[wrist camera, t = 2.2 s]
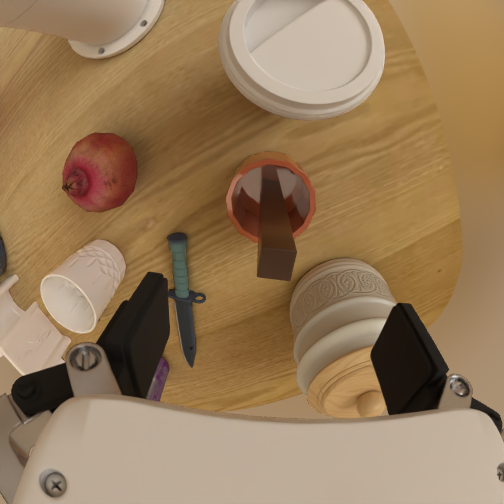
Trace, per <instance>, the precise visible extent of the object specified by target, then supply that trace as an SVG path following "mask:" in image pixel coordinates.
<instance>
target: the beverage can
mask: <svg viewBox="0 0 504 504" xmlns="http://www.w3.org/2000/svg"><path fill="white" fill-rule="evenodd" d="M168 372H169V366H168V364H167V362H166V361H165V360H164V359H163V358H162V357H161V359H160V361H159V364H158V367H157V369H156V372H155V375H154V377H153V380H152V383H151V386H150V388H149V391H148V394H147V397H146V399H147V400H153V401H158V402H159V401H160V398H161V395H162V392H163V388H164V385H165V382H166V379H167V375H168Z"/></svg>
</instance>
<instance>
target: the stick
mask: <svg viewBox="0 0 504 504" xmlns="http://www.w3.org/2000/svg"><path fill="white" fill-rule="evenodd" d="M296 254H297V251H296V246H295V242H294V238H293V234H292V229H291V225H290V221H289V217H288V213H287V209H286V205H285V201H284V197H283V193H282V189H281V185H280V182H279V181H274V180H267V179H262V184H261V191H260V206H259V232H258V258H257V277H260V278H269V279H277V280H285V281H290V280H291V276H292V271H293V267H294V263H295V258H296Z"/></svg>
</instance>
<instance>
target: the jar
mask: <svg viewBox="0 0 504 504" xmlns="http://www.w3.org/2000/svg"><path fill="white" fill-rule="evenodd" d="M396 304H397V303H396V301H395V299H394V298H393V296H392V294H391V293H390V291H389V288H388V285H387V283H386V281H385V280H384V278H383V277H382V276H381V274H380V273H379V272H378V271H377V270H375V269H374V268H373V267H371V266H370V265H368V264H367V263H365V262H363V261H360V260H356V259H349V258H342V259H335V260H330V261H327V262H325V263H322V264H320V265H318V266H316V267H315V268H313V269H311V270H310V271H309V272H308V273H306V274H305V275H304V276H303V277H302V278H301V280H300V281H299V282H298V284H297V285H296V287H295V289H294V291H293V294H292V298H291V302H290V309H289V312H290V322H291V325H292V328H293V336H294V358H295V361H296V364H297V365H298V366H297V370H296V382H297V385H298V387H299V388H300V390H301V391H302V392H303V393H304V394H305V395H306V396H307V401H308V403H309V405H310V406H311V407H312V408H313V409H314V410H315V411H317V412H319V413H321V414H323V415H327V416H332V417H336V418H361V417H376V416H379V415H380V414H381V413H382V412H383V410H384V409H386V408H387V407H386V404H385V401H384V397H383V394H382V391H381V388H380V385H379V382H378V379H377V376H376V373H375V370H374V367H373V364H372V361H371V358H370V353H371V350H372V348H373V346H374V344H375V342H376V340H377V338H378V337H379V335H380V333H381V331H382V328H383V326H384V324H385V322H386V320H387V318H388V316H389V314H390V312H391V309H392V308H393V307H394V306H396Z"/></svg>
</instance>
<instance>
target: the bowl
mask: <svg viewBox="0 0 504 504" xmlns="http://www.w3.org/2000/svg"><path fill="white" fill-rule="evenodd" d="M5 266H6V260H5V252H4V248H3V244H2V241H1V239H0V276H1V275H2V274H3V273H4V271H5Z"/></svg>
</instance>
